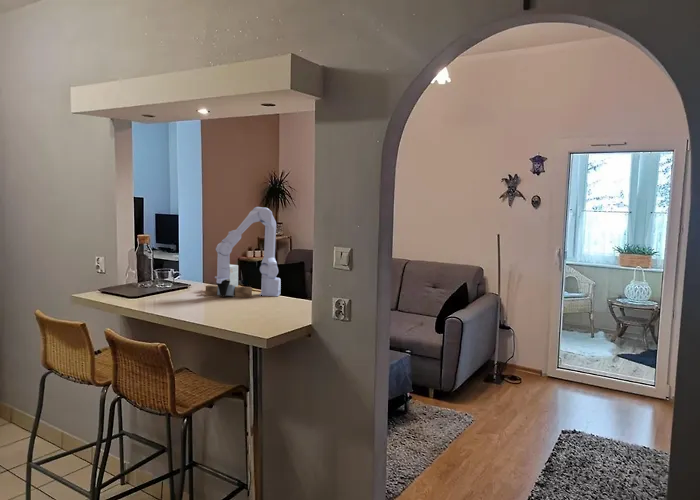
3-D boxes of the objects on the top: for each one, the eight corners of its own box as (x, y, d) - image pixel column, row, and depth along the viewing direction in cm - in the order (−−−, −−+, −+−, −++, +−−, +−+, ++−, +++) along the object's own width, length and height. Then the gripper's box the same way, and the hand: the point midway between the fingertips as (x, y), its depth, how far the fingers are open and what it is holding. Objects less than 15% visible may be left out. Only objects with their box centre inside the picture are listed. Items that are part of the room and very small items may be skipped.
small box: (227, 288, 281) (228, 264, 280) (238, 289, 279) (238, 265, 278) (218, 291, 274) (219, 265, 272) (229, 292, 272) (230, 266, 270)
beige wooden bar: (251, 296, 264) (252, 287, 263) (250, 297, 260) (250, 288, 260) (207, 293, 265) (208, 284, 265) (205, 295, 262) (205, 286, 261)
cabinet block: (233, 296, 261) (234, 286, 262) (231, 295, 257) (232, 285, 258) (218, 295, 262) (219, 285, 263) (215, 294, 258) (217, 284, 259)
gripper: (219, 265, 263) (219, 292, 264) (210, 269, 248) (209, 298, 250) (234, 266, 262) (233, 293, 264) (225, 270, 248) (224, 299, 249)
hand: (223, 295), depth 257 cm, fingers closed
